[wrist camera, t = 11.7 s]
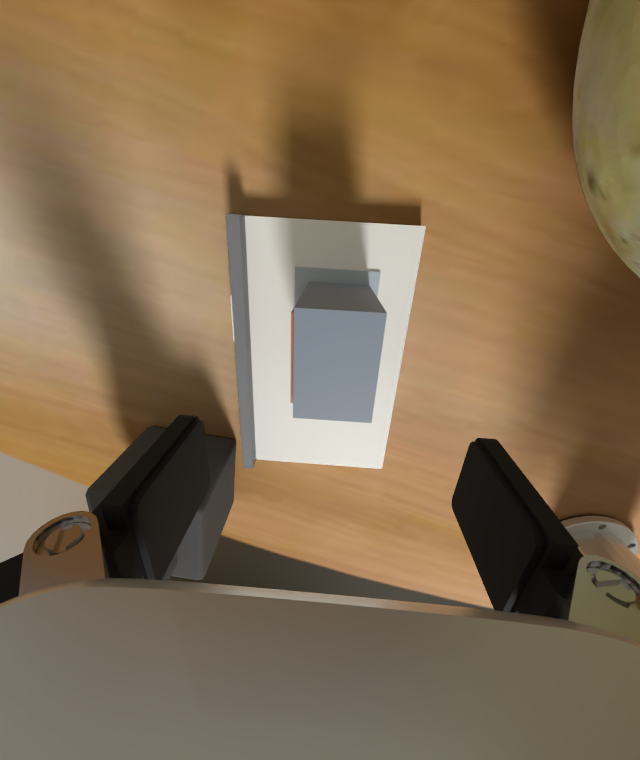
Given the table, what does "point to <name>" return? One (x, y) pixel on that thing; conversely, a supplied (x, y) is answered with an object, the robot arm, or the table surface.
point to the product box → (336, 352)
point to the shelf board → (273, 328)
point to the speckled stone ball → (610, 123)
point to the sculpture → (211, 512)
